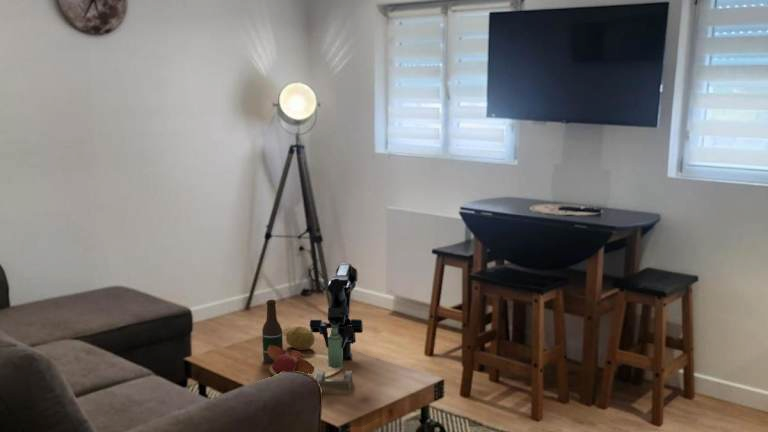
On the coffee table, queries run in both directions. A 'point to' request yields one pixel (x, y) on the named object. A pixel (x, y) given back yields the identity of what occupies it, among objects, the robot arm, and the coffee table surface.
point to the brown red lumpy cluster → (288, 361)
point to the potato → (300, 338)
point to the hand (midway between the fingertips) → (334, 347)
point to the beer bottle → (271, 331)
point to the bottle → (335, 348)
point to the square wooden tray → (335, 384)
